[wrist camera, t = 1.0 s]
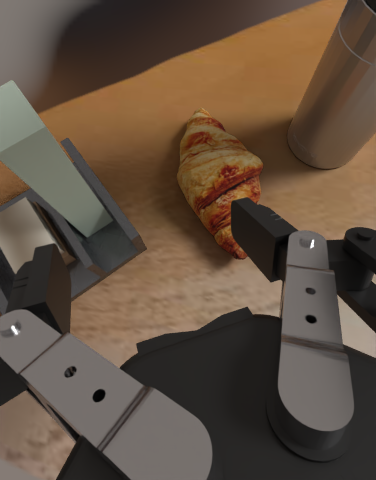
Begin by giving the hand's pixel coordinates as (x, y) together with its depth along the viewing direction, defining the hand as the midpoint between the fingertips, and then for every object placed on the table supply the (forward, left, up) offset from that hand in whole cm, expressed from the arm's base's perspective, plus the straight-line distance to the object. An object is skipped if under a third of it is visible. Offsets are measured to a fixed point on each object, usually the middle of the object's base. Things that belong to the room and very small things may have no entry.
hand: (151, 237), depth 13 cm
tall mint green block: (+3, -14, -19) cm, 23 cm away
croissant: (-12, -8, -20) cm, 25 cm away
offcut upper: (+9, -14, -17) cm, 24 cm away
